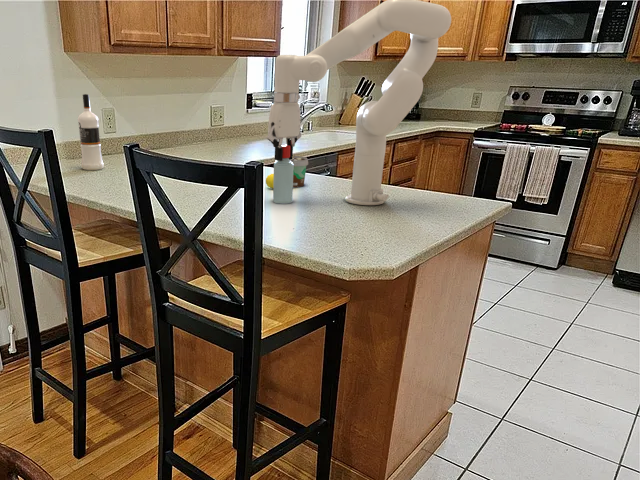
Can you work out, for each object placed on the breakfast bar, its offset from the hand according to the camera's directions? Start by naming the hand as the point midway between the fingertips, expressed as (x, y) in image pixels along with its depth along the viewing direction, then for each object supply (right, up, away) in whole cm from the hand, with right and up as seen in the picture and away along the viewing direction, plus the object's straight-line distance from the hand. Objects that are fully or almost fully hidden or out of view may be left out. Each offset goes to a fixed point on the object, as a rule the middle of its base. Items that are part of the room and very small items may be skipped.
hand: (283, 159), depth 169 cm
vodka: (-78, +11, +57) cm, 97 cm away
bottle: (0, -13, +5) cm, 14 cm away
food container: (+8, -2, +30) cm, 31 cm away
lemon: (-2, -5, +24) cm, 25 cm away
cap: (0, 0, 0) cm, 1 cm away
